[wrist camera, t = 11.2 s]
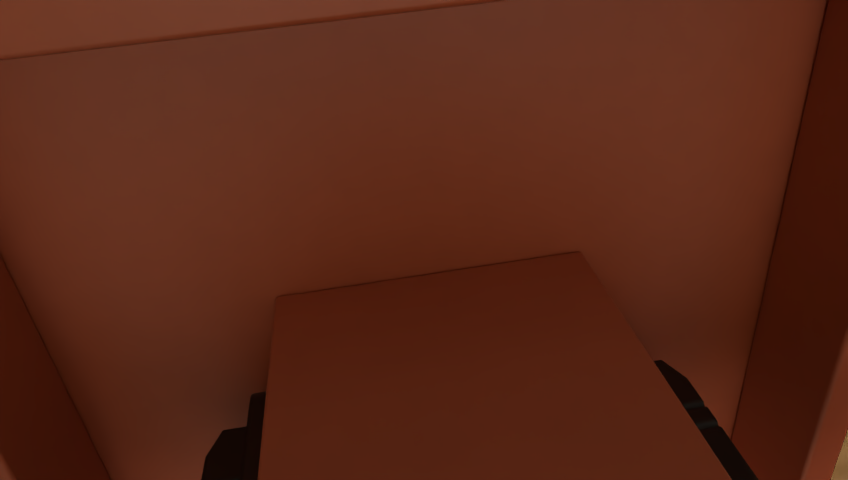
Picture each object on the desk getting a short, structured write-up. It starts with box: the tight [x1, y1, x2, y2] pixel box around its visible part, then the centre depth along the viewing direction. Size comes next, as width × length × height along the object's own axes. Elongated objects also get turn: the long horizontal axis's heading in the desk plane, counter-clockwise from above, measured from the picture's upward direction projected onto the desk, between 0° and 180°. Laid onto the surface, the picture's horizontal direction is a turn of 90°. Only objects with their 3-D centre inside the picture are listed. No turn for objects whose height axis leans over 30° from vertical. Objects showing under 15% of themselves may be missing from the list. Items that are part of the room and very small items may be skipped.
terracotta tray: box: [0, 0, 848, 480], centre depth 11 cm, size 13×15×3 cm
